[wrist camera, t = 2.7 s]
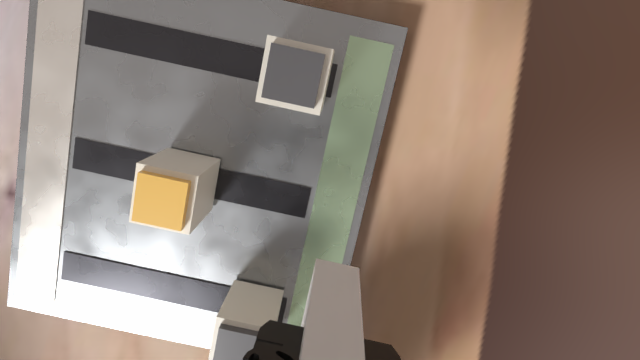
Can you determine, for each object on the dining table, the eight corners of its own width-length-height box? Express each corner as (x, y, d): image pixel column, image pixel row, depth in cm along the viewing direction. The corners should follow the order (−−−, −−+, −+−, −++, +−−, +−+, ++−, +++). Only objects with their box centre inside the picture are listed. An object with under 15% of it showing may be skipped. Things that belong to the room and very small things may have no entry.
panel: (22, 295, 32) (5, 306, 31) (50, -48, 28) (32, -55, 26) (324, 359, 32) (324, 374, 31) (404, 29, 28) (408, 27, 26)
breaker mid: (160, 198, 29) (124, 225, 24) (168, 147, 28) (132, 164, 23) (212, 209, 29) (186, 238, 24) (220, 158, 28) (195, 178, 23)
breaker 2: (268, 95, 27) (253, 102, 22) (279, 40, 26) (265, 33, 22) (322, 107, 27) (319, 116, 22) (334, 52, 26) (333, 48, 22)
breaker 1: (226, 324, 30) (204, 374, 25) (234, 279, 30) (213, 321, 25) (274, 334, 30) (262, 386, 25) (284, 290, 30) (272, 334, 25)
